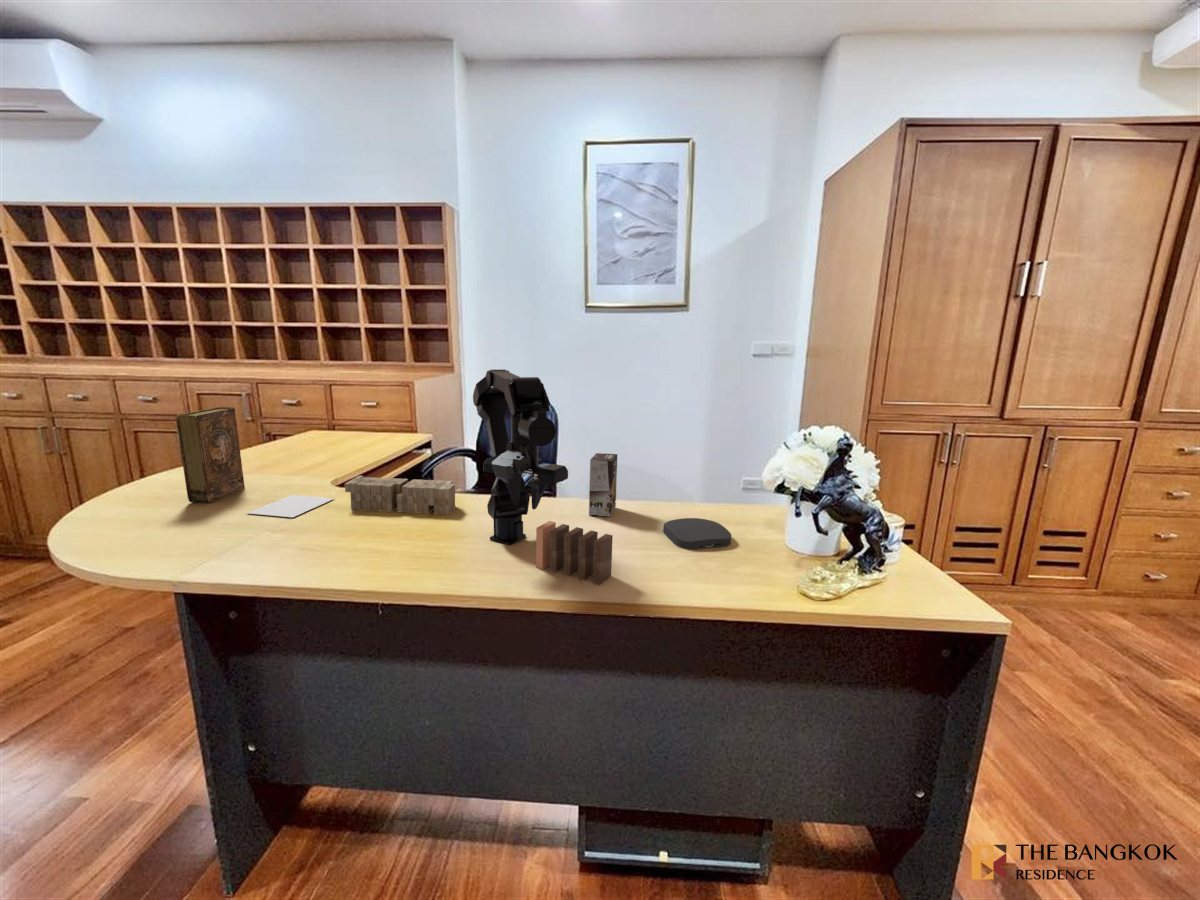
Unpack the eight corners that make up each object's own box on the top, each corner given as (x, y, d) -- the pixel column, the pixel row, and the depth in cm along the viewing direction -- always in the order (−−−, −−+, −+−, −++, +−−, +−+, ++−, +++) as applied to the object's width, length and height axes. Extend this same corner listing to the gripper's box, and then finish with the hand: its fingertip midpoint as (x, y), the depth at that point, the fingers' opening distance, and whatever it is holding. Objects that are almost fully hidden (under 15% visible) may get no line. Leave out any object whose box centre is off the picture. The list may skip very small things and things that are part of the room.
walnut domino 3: (577, 579, 107) (578, 538, 105) (590, 570, 112) (590, 530, 110) (584, 581, 107) (585, 539, 105) (596, 571, 111) (597, 531, 109)
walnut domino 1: (549, 571, 111) (549, 531, 109) (562, 562, 115) (562, 523, 113) (555, 573, 110) (556, 532, 108) (568, 564, 114) (569, 525, 112)
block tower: (458, 509, 151) (360, 501, 152) (458, 481, 149) (359, 473, 151) (448, 518, 143) (345, 510, 145) (448, 489, 141) (344, 480, 143)
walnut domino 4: (592, 583, 106) (593, 541, 104) (604, 573, 110) (605, 533, 108) (599, 585, 105) (600, 543, 103) (611, 575, 109) (612, 535, 107)
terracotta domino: (536, 567, 112) (536, 528, 110) (549, 559, 116) (549, 520, 115) (542, 569, 111) (542, 529, 109) (555, 560, 116) (555, 522, 114)
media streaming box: (658, 529, 137) (659, 519, 136) (709, 526, 140) (710, 515, 140) (680, 552, 123) (681, 540, 122) (736, 547, 127) (737, 535, 126)
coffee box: (610, 517, 144) (612, 460, 140) (588, 515, 145) (589, 459, 141) (616, 507, 152) (618, 453, 149) (594, 505, 153) (596, 452, 150)
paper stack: (364, 503, 151) (364, 500, 151) (302, 534, 127) (302, 531, 127) (292, 497, 155) (292, 494, 155) (219, 526, 131) (219, 523, 131)
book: (230, 487, 162) (219, 406, 157) (247, 487, 162) (237, 407, 157) (188, 503, 146) (175, 415, 141) (208, 504, 146) (195, 415, 141)
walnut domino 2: (563, 575, 109) (564, 534, 107) (576, 566, 113) (576, 527, 111) (570, 576, 108) (570, 536, 106) (582, 568, 112) (583, 528, 111)
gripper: (464, 437, 108) (466, 509, 111) (538, 449, 99) (538, 526, 103) (499, 429, 117) (500, 496, 121) (569, 439, 109) (569, 510, 112)
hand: (525, 507), depth 114 cm, fingers open, 5 cm apart
